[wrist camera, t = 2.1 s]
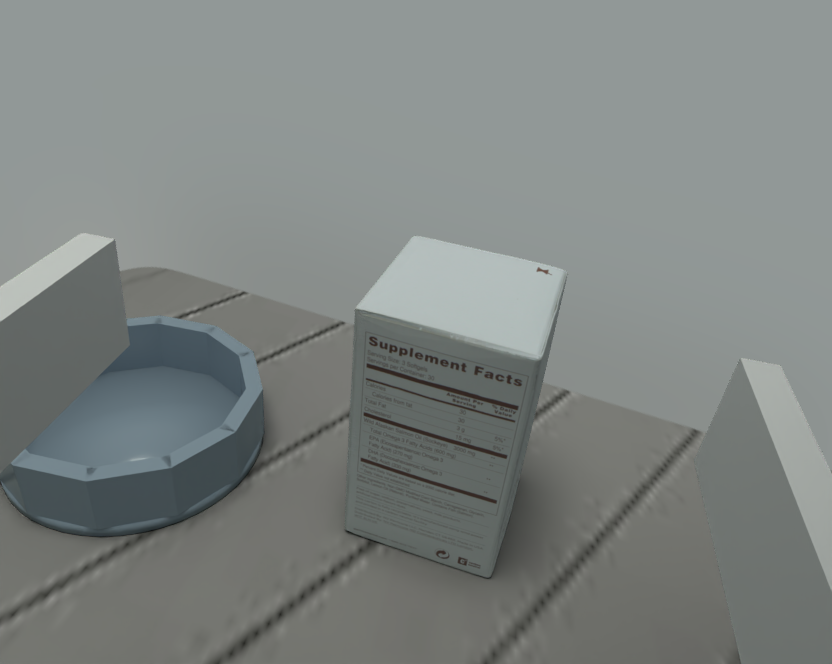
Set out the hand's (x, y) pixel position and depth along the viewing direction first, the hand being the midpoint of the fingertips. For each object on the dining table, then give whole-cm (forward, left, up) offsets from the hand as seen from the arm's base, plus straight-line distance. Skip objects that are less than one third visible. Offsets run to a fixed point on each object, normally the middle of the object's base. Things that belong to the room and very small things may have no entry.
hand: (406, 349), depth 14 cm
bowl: (+15, -12, -17) cm, 26 cm away
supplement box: (-1, -12, -18) cm, 22 cm away
